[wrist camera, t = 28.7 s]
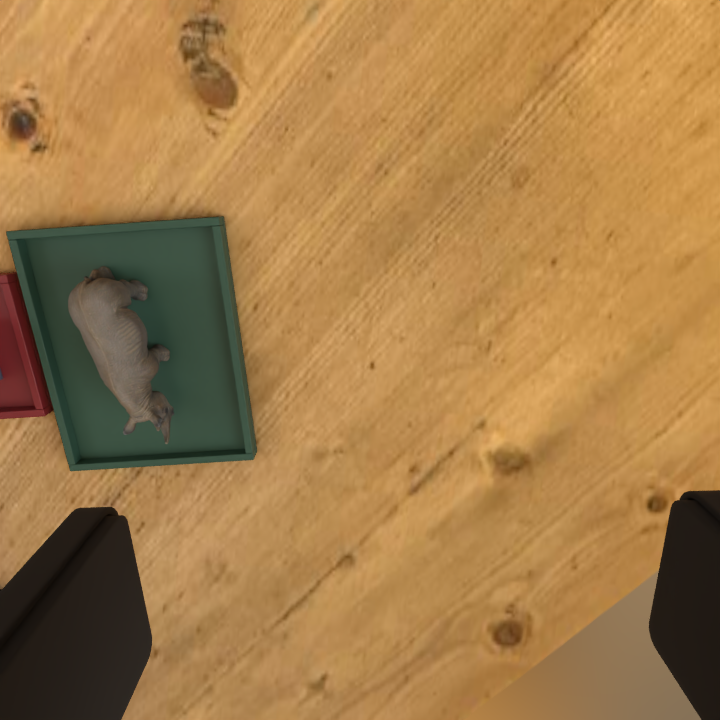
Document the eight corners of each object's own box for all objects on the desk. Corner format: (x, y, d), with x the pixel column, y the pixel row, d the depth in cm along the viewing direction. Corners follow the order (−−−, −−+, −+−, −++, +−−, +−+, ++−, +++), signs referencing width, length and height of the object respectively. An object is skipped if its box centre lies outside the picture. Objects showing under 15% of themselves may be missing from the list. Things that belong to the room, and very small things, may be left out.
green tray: (18, 230, 37) (5, 231, 36) (223, 216, 37) (218, 216, 35) (79, 462, 43) (69, 471, 41) (257, 451, 43) (253, 460, 41)
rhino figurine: (153, 433, 42) (121, 470, 36) (86, 270, 37) (37, 282, 32) (200, 422, 41) (175, 457, 36) (138, 256, 37) (98, 266, 31)
